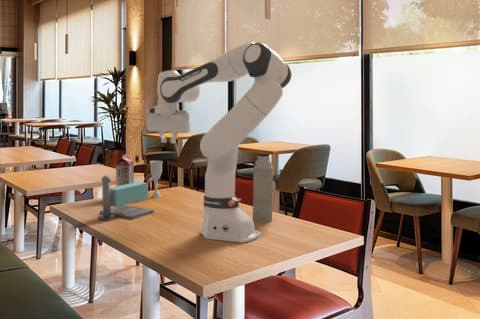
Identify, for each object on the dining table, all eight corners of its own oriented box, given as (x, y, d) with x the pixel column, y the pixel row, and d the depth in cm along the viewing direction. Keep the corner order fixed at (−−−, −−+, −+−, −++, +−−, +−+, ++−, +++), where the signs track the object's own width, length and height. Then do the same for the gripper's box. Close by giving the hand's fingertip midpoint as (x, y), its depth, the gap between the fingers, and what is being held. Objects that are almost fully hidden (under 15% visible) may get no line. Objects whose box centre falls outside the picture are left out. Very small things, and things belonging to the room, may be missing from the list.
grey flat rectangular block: (153, 212, 209) (153, 209, 209) (131, 219, 197) (131, 216, 197) (122, 207, 218) (122, 204, 218) (99, 213, 206) (99, 210, 205)
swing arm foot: (115, 218, 198) (115, 215, 198) (107, 221, 194) (107, 218, 193) (106, 216, 200) (106, 214, 200) (98, 219, 196) (97, 216, 196)
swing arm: (109, 217, 194) (108, 176, 192) (98, 215, 197) (97, 175, 195) (148, 206, 215) (147, 169, 213) (137, 205, 218) (137, 168, 216)
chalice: (160, 198, 239) (160, 162, 237) (147, 197, 241) (147, 162, 239) (165, 195, 247) (165, 161, 244) (152, 194, 248) (152, 160, 246)
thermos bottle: (271, 218, 203) (273, 152, 200) (271, 222, 195) (273, 154, 192) (253, 217, 204) (254, 152, 200) (252, 222, 196) (253, 154, 192)
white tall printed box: (133, 197, 241) (133, 154, 238) (129, 200, 234) (128, 155, 232) (121, 196, 242) (120, 153, 239) (116, 199, 235) (115, 155, 232)
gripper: (193, 110, 198) (192, 143, 199) (154, 109, 207) (154, 141, 209) (184, 110, 192) (184, 144, 194) (144, 109, 202) (144, 142, 204)
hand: (168, 142), depth 202 cm, fingers open, 3 cm apart
